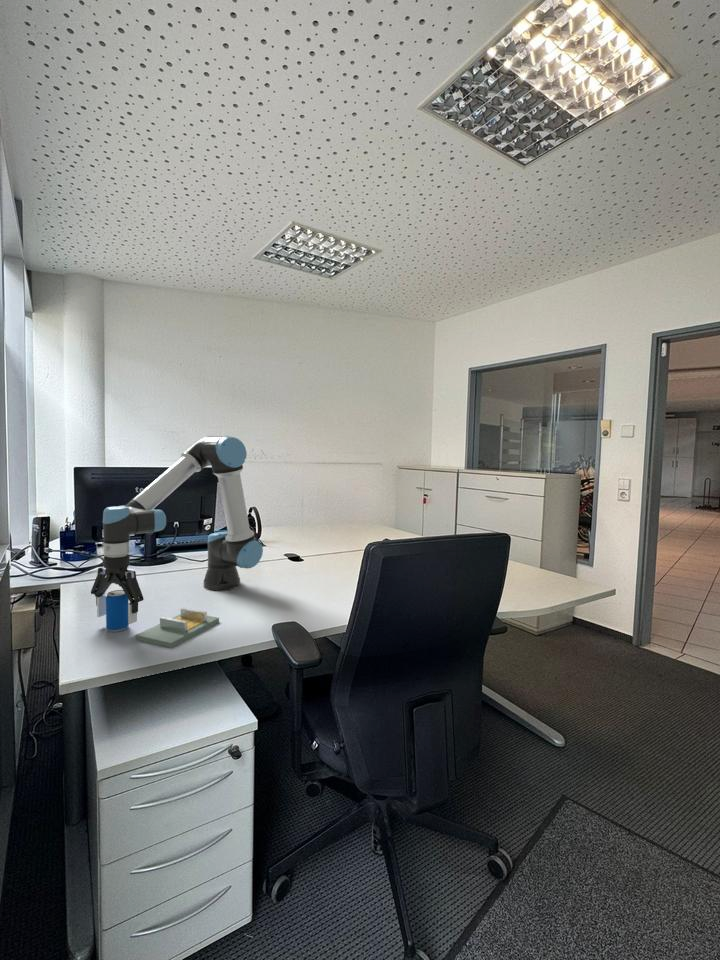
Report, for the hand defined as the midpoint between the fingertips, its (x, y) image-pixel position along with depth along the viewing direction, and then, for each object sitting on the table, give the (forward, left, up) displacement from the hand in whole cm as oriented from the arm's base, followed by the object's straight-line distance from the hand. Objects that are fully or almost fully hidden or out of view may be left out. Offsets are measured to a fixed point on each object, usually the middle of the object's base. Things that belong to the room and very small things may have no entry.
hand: (116, 619), depth 149 cm
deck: (+19, +7, -3) cm, 21 cm away
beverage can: (0, 0, -3) cm, 3 cm away
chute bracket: (+19, +9, -2) cm, 21 cm away
